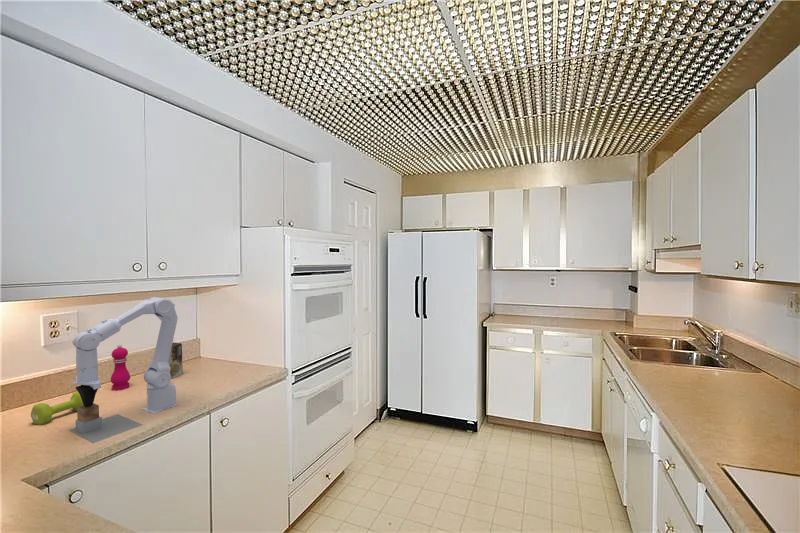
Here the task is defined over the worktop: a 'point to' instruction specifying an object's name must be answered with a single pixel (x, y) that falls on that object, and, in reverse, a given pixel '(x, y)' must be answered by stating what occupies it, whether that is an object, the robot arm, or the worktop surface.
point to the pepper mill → (120, 369)
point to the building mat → (109, 428)
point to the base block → (89, 425)
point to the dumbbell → (54, 409)
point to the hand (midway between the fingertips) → (88, 405)
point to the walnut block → (87, 413)
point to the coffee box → (176, 360)
